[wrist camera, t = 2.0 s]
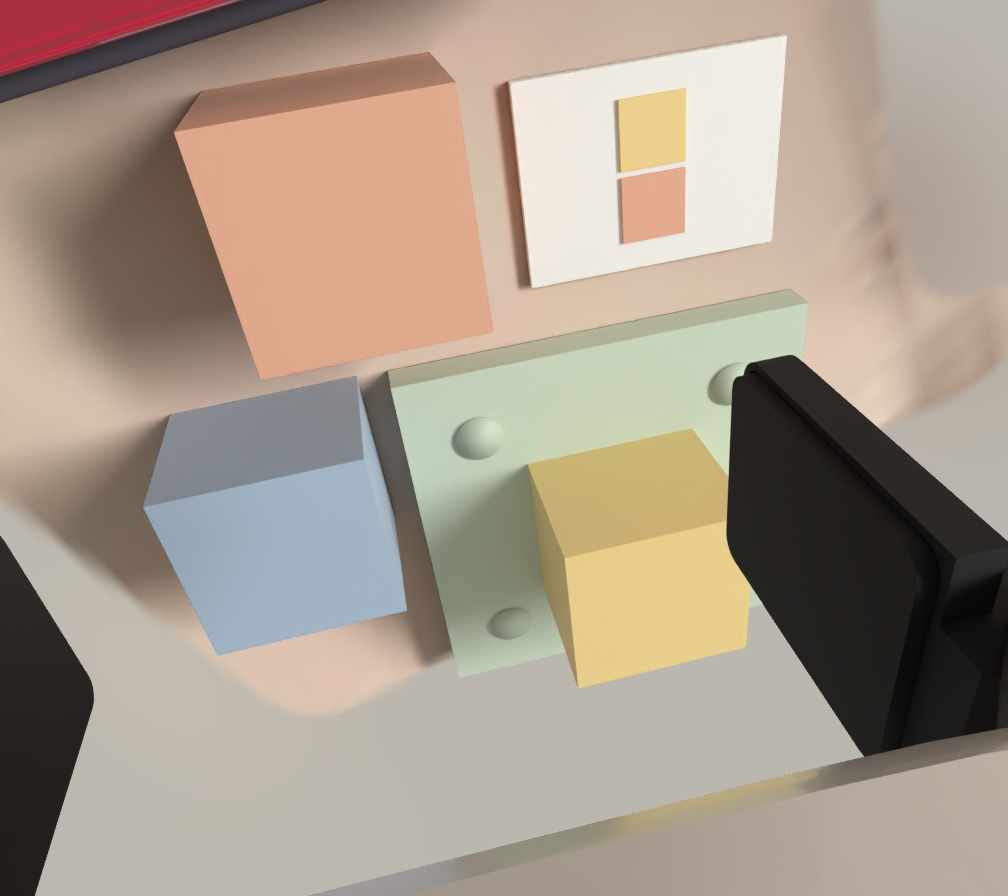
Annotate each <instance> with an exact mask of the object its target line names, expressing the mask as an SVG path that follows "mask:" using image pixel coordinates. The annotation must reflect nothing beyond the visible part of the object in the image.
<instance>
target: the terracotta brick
mask: <svg viewBox="0 0 1008 896" xmlns="http://www.w3.org/2000/svg"><path fill="white" fill-rule="evenodd" d="M174 134H175V137H176V140H177V143H178V146H179V149H180V151H181V154H182V157H183V160H184V163H185V166H186V168H187V171H188V174H189V177H190V180H191V183H192V186H193V188H194V191H195V194H196V197H197V200H198V203H199V205H200V208H201V211H202V214H203V217H204V220H205V223H206V225H207V228H208V231H209V234H210V237H211V240H212V242H213V245H214V248H215V251H216V254H217V257H218V260H219V262H220V265H221V268H222V271H223V274H224V277H225V279H226V282H227V285H228V288H229V291H230V294H231V296H232V299H233V302H234V305H235V308H236V311H237V314H238V316H239V319H240V322H241V325H242V328H243V331H244V333H245V336H246V339H247V342H248V345H249V348H250V351H251V353H252V356H253V359H254V362H255V365H256V368H257V370H258V373H259V376H260V379H261V380H265V379H269V378H274V377H279V376H284V375H289V374H294V373H298V372H303V371H308V370H313V369H318V368H323V367H327V366H332V365H337V364H342V363H347V362H352V361H356V360H361V359H366V358H371V357H376V356H380V355H385V354H390V353H395V352H400V351H405V350H409V349H414V348H419V347H424V346H429V345H434V344H438V343H443V342H448V341H453V340H458V339H463V338H467V337H472V336H477V335H482V334H487V333H492V332H493V327H492V320H491V313H490V307H489V300H488V293H487V287H486V280H485V274H484V267H483V260H482V254H481V247H480V240H479V234H478V227H477V220H476V214H475V207H474V201H473V194H472V187H471V181H470V174H469V167H468V161H467V154H466V147H465V141H464V134H463V127H462V121H461V114H460V108H459V101H458V94H457V88H456V82H455V81H454V80H453V79H452V77H451V76H450V75H449V74H448V73H447V72H446V71H445V69H444V68H443V67H442V66H441V65H440V64H439V63H438V61H437V60H436V59H435V58H434V57H433V56H432V55H431V53H430V52H425V53H419V54H414V55H408V56H402V57H396V58H391V59H385V60H379V61H373V62H368V63H362V64H356V65H350V66H345V67H339V68H333V69H327V70H322V71H316V72H310V73H304V74H298V75H293V76H287V77H281V78H275V79H270V80H264V81H258V82H252V83H247V84H241V85H235V86H229V87H224V88H218V89H212V90H206V91H201V93H200V94H199V96H198V97H197V99H196V100H195V102H194V103H193V105H192V106H191V108H190V109H189V110H188V112H187V113H186V115H185V116H184V118H183V119H182V121H181V122H180V124H179V125H178V127H177V128H176V130H175V131H174Z"/></svg>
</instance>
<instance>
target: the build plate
mask: <svg viewBox="0 0 1008 896" xmlns="http://www.w3.org/2000/svg"><path fill="white" fill-rule="evenodd" d="M808 304H809V303H808V302H807V301H806V300H804V299H803V298H802V297H800V296H799V295H798V294H797V293H795V292H794V291H793V290H791V289H789V290H784V291H779V292H774V293H769V294H764V295H759V296H754V297H749V298H745V299H740V300H735V301H730V302H725V303H720V304H715V305H710V306H705V307H700V308H695V309H690V310H685V311H681V312H676V313H671V314H666V315H661V316H656V317H651V318H646V319H641V320H636V321H631V322H626V323H621V324H617V325H612V326H607V327H602V328H597V329H592V330H587V331H582V332H577V333H572V334H567V335H562V336H557V337H552V338H548V339H543V340H538V341H533V342H528V343H523V344H518V345H513V346H508V347H503V348H498V349H493V350H488V351H484V352H479V353H474V354H469V355H464V356H459V357H454V358H449V359H444V360H439V361H434V362H429V363H424V364H420V365H415V366H410V367H405V368H400V369H395V370H390V371H388V376H389V382H390V388H391V392H392V397H393V401H394V405H395V409H396V414H397V418H398V422H399V426H400V431H401V435H402V439H403V443H404V447H405V452H406V456H407V460H408V464H409V469H410V473H411V477H412V481H413V486H414V490H415V494H416V498H417V503H418V507H419V511H420V515H421V519H422V524H423V528H424V532H425V536H426V541H427V545H428V549H429V553H430V558H431V562H432V566H433V570H434V574H435V579H436V583H437V587H438V591H439V596H440V600H441V604H442V608H443V613H444V617H445V621H446V625H447V630H448V634H449V638H450V642H451V646H452V651H453V655H454V659H455V663H456V668H457V672H458V676H459V678H462V677H466V676H469V675H474V674H478V673H482V672H486V671H490V670H494V669H498V668H503V667H507V666H511V665H515V664H519V663H523V662H528V661H532V660H536V659H540V658H544V657H548V656H552V655H556V654H561V653H565V652H566V651H565V648H564V645H563V642H562V640H561V637H560V634H559V631H558V628H557V625H556V622H555V619H554V616H553V613H552V611H551V608H550V605H549V602H548V599H547V596H546V593H545V590H544V587H543V579H542V572H541V564H540V556H539V549H538V541H537V533H536V525H535V518H534V510H533V502H532V495H531V487H530V479H529V471H528V464H530V463H534V462H539V461H543V460H548V459H553V458H557V457H562V456H566V455H571V454H576V453H580V452H585V451H589V450H594V449H599V448H603V447H608V446H612V445H617V444H622V443H626V442H631V441H635V440H640V439H644V438H649V437H654V436H658V435H663V434H667V433H672V432H677V431H681V430H686V429H690V428H692V429H693V430H694V432H695V433H696V434H697V436H698V437H699V438H700V440H701V441H702V442H703V444H704V445H705V446H706V448H707V449H708V450H709V452H710V453H711V454H712V456H713V457H714V458H715V460H716V461H717V462H718V464H719V465H720V466H721V468H722V469H723V470H724V472H725V473H726V474H727V476H728V477H729V452H730V427H731V403H732V386H733V381H734V379H735V378H736V377H738V376H742V375H744V371H745V368H746V366H747V365H748V364H749V363H751V362H756V361H761V360H766V359H771V358H776V357H780V356H785V355H794V356H796V357H798V358H799V359H800V360H801V361H802V360H803V351H804V342H805V332H806V323H807V314H808ZM759 605H763V604H762V602H761V601H760V599H759V598H758V596H757V595H756V593H755V592H754V590H753V589H752V587H750V599H749V608H751V607H755V606H759Z"/></svg>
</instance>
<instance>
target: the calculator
mask: <svg viewBox="0 0 1008 896" xmlns="http://www.w3.org/2000/svg"><path fill="white" fill-rule="evenodd" d="M323 1H326V0H0V103H2V102H5V101H8V100H12V99H15V98H18V97H21V96H24V95H27V94H31V93H34V92H37V91H40V90H43V89H47V88H50V87H53V86H56V85H59V84H62V83H66V82H69V81H72V80H75V79H78V78H82V77H85V76H88V75H91V74H94V73H97V72H101V71H104V70H107V69H110V68H113V67H116V66H120V65H123V64H126V63H129V62H132V61H136V60H139V59H142V58H145V57H148V56H151V55H155V54H158V53H161V52H164V51H167V50H171V49H174V48H177V47H180V46H183V45H186V44H190V43H193V42H196V41H199V40H202V39H206V38H209V37H212V36H215V35H218V34H221V33H225V32H228V31H231V30H234V29H237V28H241V27H244V26H247V25H250V24H253V23H256V22H260V21H263V20H266V19H269V18H272V17H276V16H279V15H282V14H285V13H288V12H291V11H295V10H298V9H301V8H304V7H307V6H311V5H314V4H317V3H320V2H323Z"/></svg>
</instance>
